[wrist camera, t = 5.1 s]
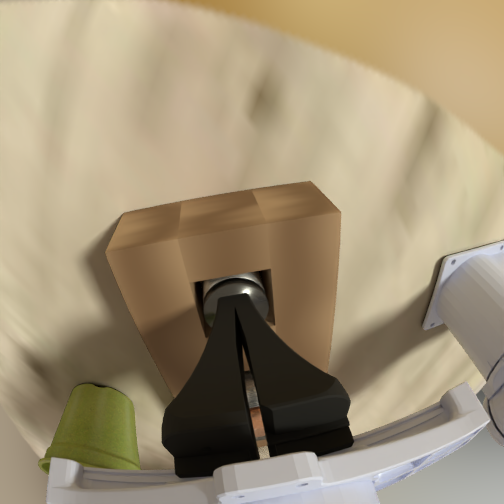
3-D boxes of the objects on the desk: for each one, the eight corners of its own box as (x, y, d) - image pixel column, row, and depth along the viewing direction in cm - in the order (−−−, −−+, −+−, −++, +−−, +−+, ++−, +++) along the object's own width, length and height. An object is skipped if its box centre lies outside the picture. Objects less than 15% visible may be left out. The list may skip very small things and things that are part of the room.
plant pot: (111, 429, 27) (106, 499, 20) (40, 387, 22) (21, 464, 15) (171, 408, 25) (174, 493, 18) (92, 357, 20) (73, 457, 13)
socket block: (310, 181, 16) (341, 212, 13) (306, 400, 28) (317, 434, 24) (123, 212, 15) (105, 252, 12) (206, 418, 27) (210, 453, 24)
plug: (252, 239, 16) (266, 280, 13) (258, 284, 18) (270, 327, 15) (196, 249, 16) (197, 292, 13) (207, 292, 18) (210, 338, 15)
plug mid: (271, 360, 18) (284, 410, 15) (274, 386, 20) (285, 431, 17) (222, 369, 18) (229, 420, 15) (230, 394, 19) (237, 440, 16)
